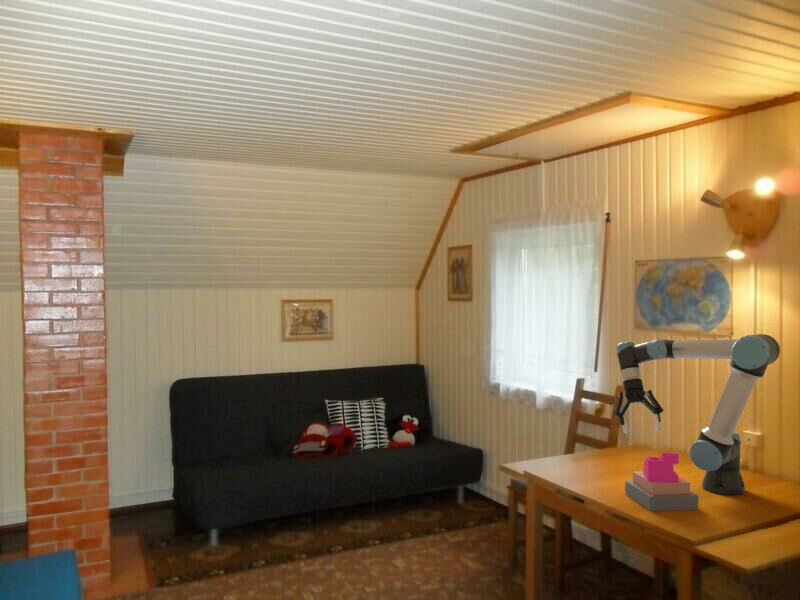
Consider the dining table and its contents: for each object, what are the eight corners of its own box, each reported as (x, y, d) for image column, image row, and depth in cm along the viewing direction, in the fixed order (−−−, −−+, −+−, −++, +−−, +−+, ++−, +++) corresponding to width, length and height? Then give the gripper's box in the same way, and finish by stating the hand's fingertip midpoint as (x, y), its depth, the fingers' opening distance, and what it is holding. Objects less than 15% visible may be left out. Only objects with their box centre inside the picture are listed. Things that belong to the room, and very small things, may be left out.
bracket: (678, 483, 238) (678, 454, 238) (648, 481, 240) (648, 453, 240) (671, 474, 250) (671, 446, 250) (642, 472, 252) (643, 445, 252)
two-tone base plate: (669, 492, 257) (670, 469, 257) (698, 509, 237) (698, 484, 237) (625, 493, 255) (625, 470, 255) (649, 510, 235) (650, 485, 235)
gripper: (656, 380, 277) (667, 431, 270) (599, 383, 274) (608, 435, 267) (664, 376, 270) (676, 428, 263) (606, 379, 267) (616, 432, 260)
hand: (642, 432), depth 265 cm, fingers open, 13 cm apart
